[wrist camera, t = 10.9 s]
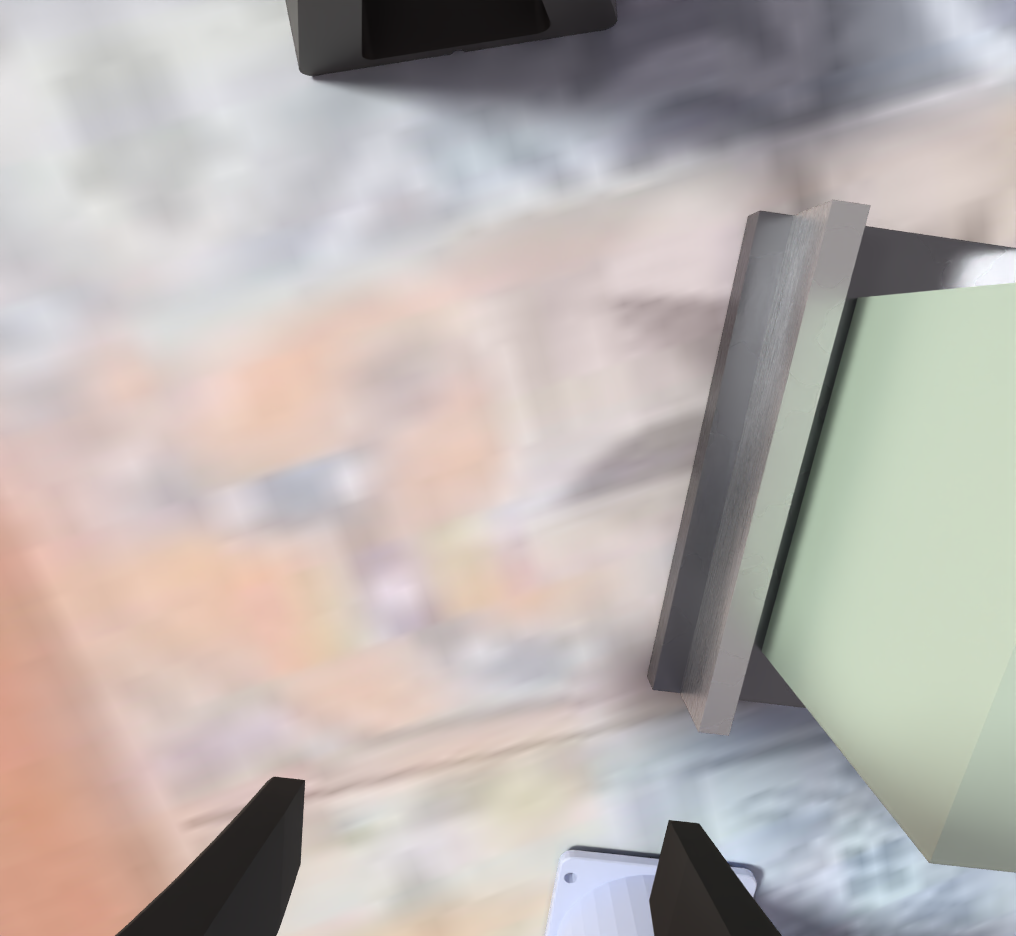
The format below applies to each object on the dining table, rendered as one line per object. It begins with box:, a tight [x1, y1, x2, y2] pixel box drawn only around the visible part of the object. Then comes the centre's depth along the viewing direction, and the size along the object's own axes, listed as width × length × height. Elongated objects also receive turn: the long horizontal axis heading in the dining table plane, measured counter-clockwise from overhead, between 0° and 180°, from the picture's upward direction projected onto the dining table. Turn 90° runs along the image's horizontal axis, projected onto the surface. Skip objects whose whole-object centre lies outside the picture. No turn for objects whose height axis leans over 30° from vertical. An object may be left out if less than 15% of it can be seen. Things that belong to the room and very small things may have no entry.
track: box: [647, 200, 1016, 736], centre depth 18 cm, size 10×16×3 cm, turn 172°
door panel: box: [762, 283, 1016, 873], centre depth 14 cm, size 12×3×8 cm, turn 172°
